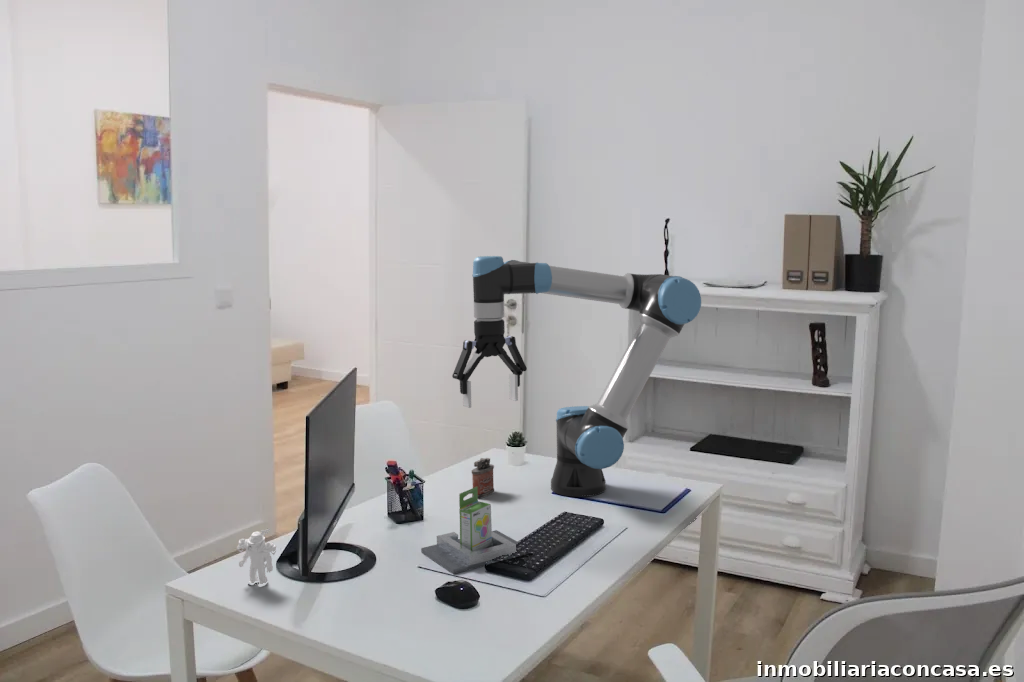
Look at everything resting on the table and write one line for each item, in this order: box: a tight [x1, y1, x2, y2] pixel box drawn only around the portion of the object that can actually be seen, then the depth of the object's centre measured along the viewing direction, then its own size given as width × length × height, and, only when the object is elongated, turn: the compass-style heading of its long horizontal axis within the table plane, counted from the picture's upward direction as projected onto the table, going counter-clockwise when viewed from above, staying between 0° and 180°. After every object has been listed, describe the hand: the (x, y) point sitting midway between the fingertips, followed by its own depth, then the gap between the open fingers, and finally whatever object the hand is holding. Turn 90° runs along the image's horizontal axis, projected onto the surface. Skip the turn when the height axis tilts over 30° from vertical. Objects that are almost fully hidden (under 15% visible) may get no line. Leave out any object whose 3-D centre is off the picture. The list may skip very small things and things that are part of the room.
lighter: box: [471, 457, 495, 500], centre depth 241 cm, size 8×3×10 cm, turn 144°
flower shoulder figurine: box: [236, 528, 277, 584], centre depth 184 cm, size 9×4×12 cm, turn 69°
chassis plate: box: [420, 529, 520, 575], centre depth 200 cm, size 20×15×3 cm
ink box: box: [458, 487, 493, 551], centre depth 199 cm, size 7×4×13 cm, turn 144°
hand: (490, 403), depth 222 cm, fingers open, 13 cm apart
